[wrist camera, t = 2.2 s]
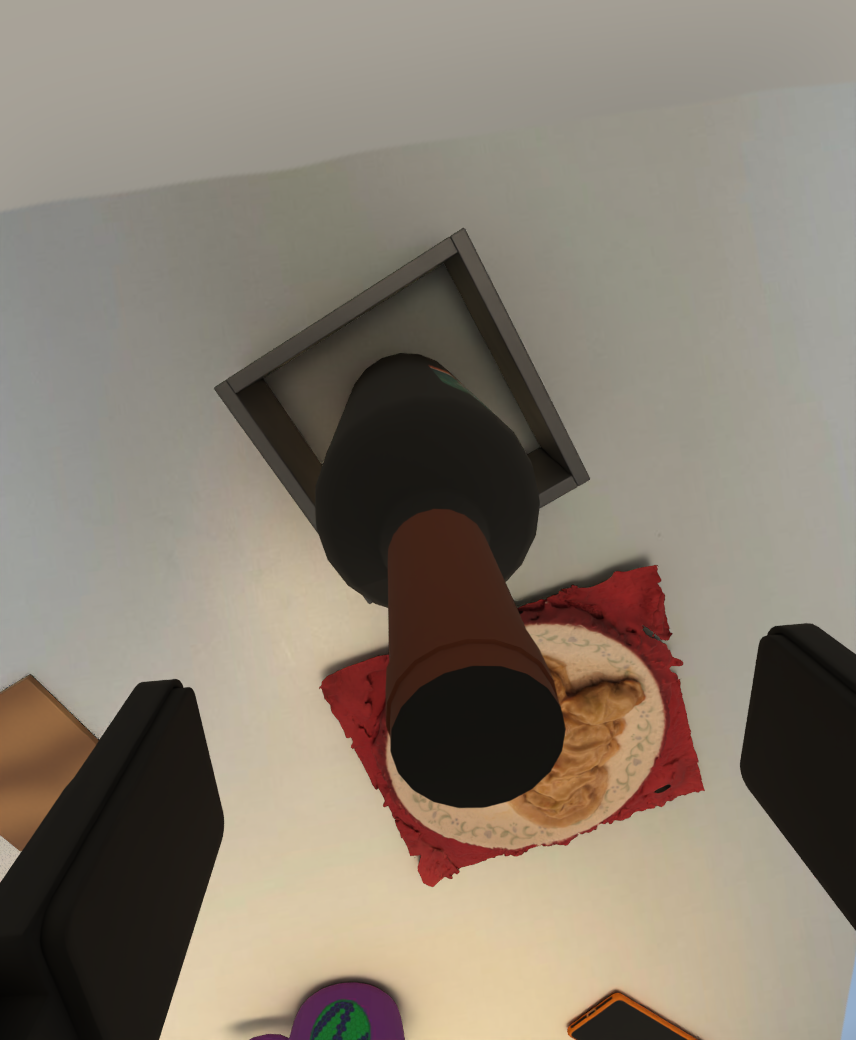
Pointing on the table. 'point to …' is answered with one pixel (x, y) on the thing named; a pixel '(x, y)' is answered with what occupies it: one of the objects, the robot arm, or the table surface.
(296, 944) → the table surface
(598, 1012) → the smartphone
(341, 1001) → the mug
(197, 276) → the table surface
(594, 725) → the plate with food
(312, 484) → the grey square tray frame
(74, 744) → the cork mat
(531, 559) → the table surface
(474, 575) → the wine bottle
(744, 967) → the table surface
